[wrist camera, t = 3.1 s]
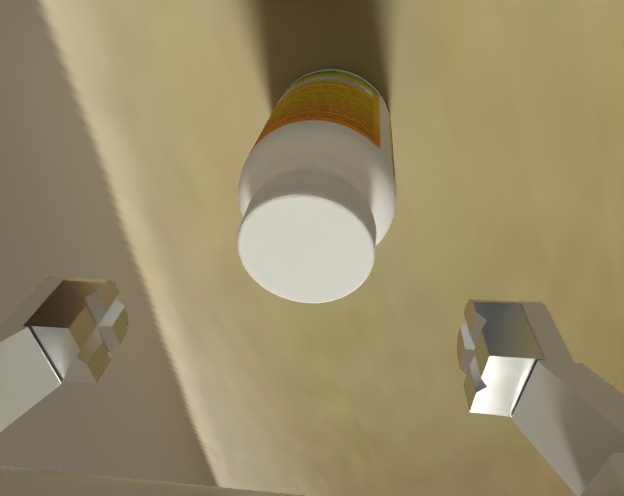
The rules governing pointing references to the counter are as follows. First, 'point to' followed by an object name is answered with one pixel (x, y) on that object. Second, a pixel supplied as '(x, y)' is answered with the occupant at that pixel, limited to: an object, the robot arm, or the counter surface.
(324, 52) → the counter surface
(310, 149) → the supplement bottle
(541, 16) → the counter surface
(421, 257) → the counter surface
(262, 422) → the counter surface
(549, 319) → the robot arm
